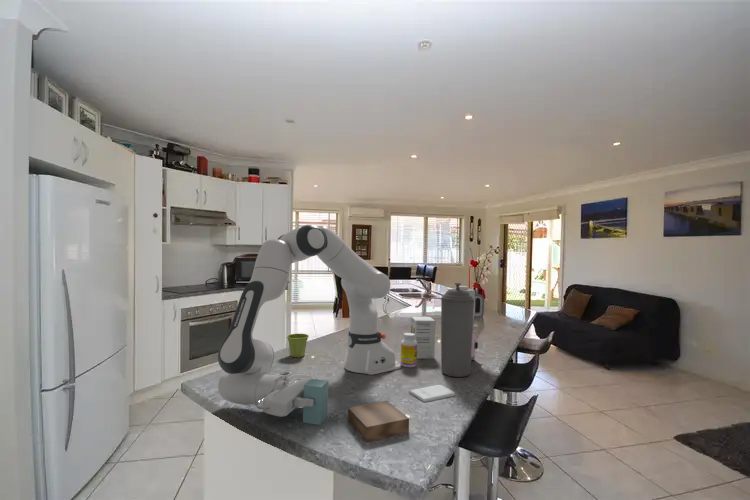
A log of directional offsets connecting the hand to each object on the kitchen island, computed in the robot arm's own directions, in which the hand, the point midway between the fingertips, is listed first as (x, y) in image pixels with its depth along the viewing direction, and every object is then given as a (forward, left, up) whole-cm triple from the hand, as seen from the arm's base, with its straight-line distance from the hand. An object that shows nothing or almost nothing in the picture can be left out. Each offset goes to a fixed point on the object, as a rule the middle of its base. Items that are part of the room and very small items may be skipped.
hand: (318, 397), depth 99 cm
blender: (-75, -31, -6) cm, 82 cm away
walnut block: (-13, +9, -7) cm, 18 cm away
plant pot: (-9, -62, -6) cm, 63 cm away
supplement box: (-61, -43, -6) cm, 75 cm away
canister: (-60, -18, -6) cm, 63 cm away
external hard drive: (-40, -3, -7) cm, 40 cm away
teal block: (+1, -1, -6) cm, 6 cm away
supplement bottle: (-48, -32, -6) cm, 58 cm away
